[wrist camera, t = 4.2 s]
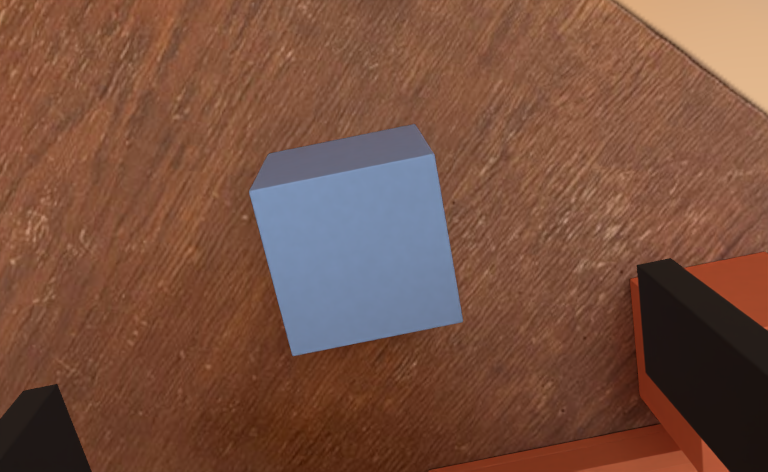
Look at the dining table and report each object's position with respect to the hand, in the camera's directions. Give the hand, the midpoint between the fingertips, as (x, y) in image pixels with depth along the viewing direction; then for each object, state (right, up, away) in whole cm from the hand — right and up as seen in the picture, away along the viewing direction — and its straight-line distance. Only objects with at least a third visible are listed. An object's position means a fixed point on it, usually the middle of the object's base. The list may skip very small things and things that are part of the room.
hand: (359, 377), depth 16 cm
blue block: (-1, +4, +13) cm, 14 cm away
